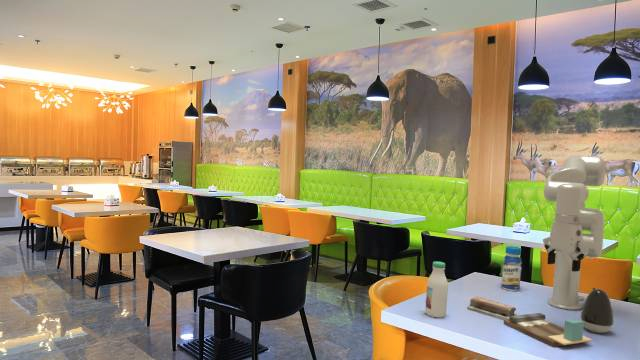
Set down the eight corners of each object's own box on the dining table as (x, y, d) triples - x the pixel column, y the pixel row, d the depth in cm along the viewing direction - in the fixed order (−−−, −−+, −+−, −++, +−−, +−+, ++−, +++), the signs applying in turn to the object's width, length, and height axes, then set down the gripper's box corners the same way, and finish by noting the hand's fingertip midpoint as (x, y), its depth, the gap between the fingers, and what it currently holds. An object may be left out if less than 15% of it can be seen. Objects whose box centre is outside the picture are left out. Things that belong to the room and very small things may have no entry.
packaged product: (466, 298, 183) (479, 294, 189) (466, 310, 183) (478, 305, 190) (511, 310, 170) (522, 306, 176) (510, 323, 170) (521, 318, 177)
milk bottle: (447, 313, 176) (451, 262, 175) (444, 319, 169) (447, 266, 168) (427, 309, 179) (430, 259, 178) (423, 315, 172) (426, 262, 171)
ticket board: (535, 320, 174) (536, 311, 173) (586, 341, 154) (587, 331, 154) (503, 324, 167) (504, 314, 167) (552, 347, 148) (553, 336, 148)
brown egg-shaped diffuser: (605, 327, 170) (609, 287, 169) (617, 337, 160) (621, 294, 159) (575, 323, 172) (579, 283, 172) (585, 333, 162) (588, 291, 162)
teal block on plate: (575, 334, 157) (577, 315, 156) (591, 340, 151) (593, 321, 151) (548, 337, 152) (549, 318, 151) (563, 345, 146) (565, 324, 146)
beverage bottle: (522, 289, 218) (525, 247, 217) (516, 292, 211) (519, 249, 211) (504, 285, 223) (508, 244, 222) (497, 288, 217) (501, 246, 216)
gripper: (597, 223, 153) (593, 273, 155) (553, 215, 169) (549, 260, 171) (582, 224, 150) (578, 275, 152) (538, 215, 166) (534, 262, 168)
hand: (563, 267), depth 161 cm, fingers open, 9 cm apart
